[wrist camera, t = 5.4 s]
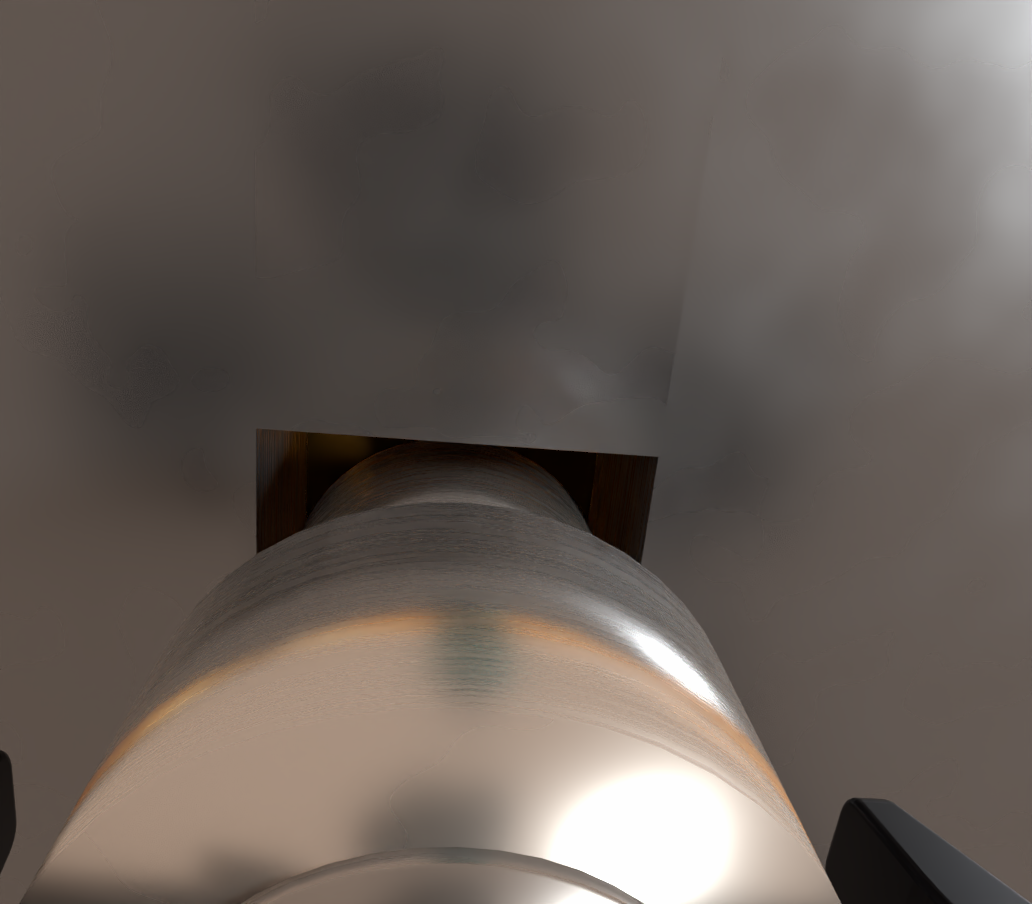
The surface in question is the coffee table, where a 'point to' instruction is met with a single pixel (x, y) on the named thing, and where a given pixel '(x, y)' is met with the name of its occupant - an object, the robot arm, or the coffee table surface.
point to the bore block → (539, 342)
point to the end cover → (436, 721)
